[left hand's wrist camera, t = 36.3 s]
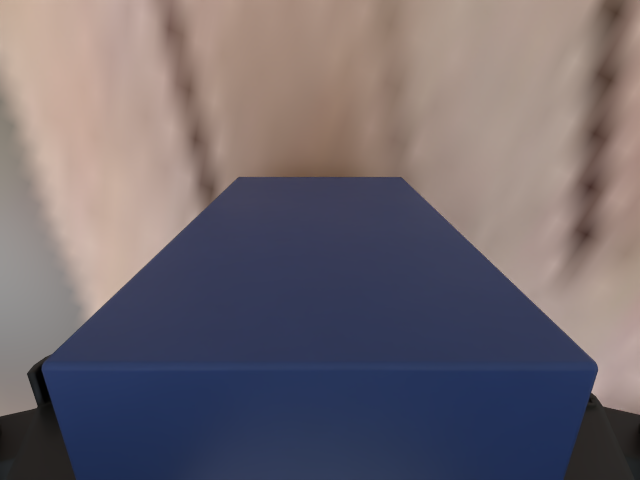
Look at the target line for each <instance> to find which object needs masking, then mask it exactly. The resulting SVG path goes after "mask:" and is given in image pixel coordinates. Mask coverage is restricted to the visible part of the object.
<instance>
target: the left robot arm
mask: <svg viewBox="0 0 640 480" xmlns="http://www.w3.org/2000/svg"><path fill="white" fill-rule="evenodd" d="M51 355H52V354H51ZM51 355H49V356H47V357H45V358H44V359H42V360H41V361H39V362H38V363H36V364H35V365H34V366H33V367H32V368H31V369H30V371H29V372H28V373H27V375H28V378H29V381H30V384H31V387H32V390H33V393H34V396H35V399H36V402H37V405H38V407H37V408H36V409H32V410H28V411H23V412H19V413H14V414H10V415H5V416H1V417H0V480H76V478H75V475H74V471H73V468H72V465H71V462H70V459H69V456H68V452H67V449H66V446H65V443H64V440H63V436H62V433H61V430H60V427H59V424H58V421H57V417H56V414H55V411H54V408H53V405H52V401H51V398H50V395H49V392H48V389H47V386H46V382H45V379H44V376H43V373H42V365H43V363H44V361H46V360H47V359H48V358H49V357H50V356H51ZM564 480H640V415H638V414H633V413H629V412H624V411H620V410H615V409H611V408H607V407H603V406H602V404H601V403H600V402H599V400H598V399H597V398H596V396H594V395H593V394H592V393H591V394H590V397H589V401H588V404H587V407H586V410H585V413H584V416H583V420H582V423H581V426H580V429H579V432H578V435H577V439H576V442H575V445H574V448H573V451H572V454H571V458H570V461H569V464H568V467H567V470H566V473H565V477H564Z"/></svg>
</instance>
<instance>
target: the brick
mask: <svg viewBox="0 0 640 480" xmlns="http://www.w3.org/2000/svg"><path fill="white" fill-rule="evenodd" d="M597 372H598V366H597V364H596V362H595V361H594V360H593V359H592V358H591V357H590V356H589V355H587V354H586V353H585V352H584V351H583V350H582V349H581V348H580V347H579V346H578V345H577V344H576V343H575V342H574V341H573V340H572V339H571V338H570V337H569V336H568V335H566V334H565V333H564V332H563V331H562V330H561V329H560V328H559V327H558V326H557V325H556V324H555V323H554V322H553V321H552V320H551V319H550V318H549V317H548V316H547V315H545V314H544V313H543V312H542V311H541V310H540V309H539V308H538V307H537V306H536V305H535V304H534V303H533V302H532V301H531V300H530V299H529V298H528V297H527V296H526V295H524V294H523V293H522V292H521V291H520V290H519V289H518V288H517V287H516V286H515V285H514V284H513V283H512V282H511V281H510V280H509V279H508V278H507V277H506V276H505V275H503V274H502V273H501V272H500V271H499V270H498V269H497V268H496V267H495V266H494V265H493V264H492V263H491V262H490V261H489V260H488V259H487V258H486V257H485V256H484V255H482V254H481V253H480V252H479V251H478V250H477V249H476V248H475V247H474V246H473V245H472V244H471V243H470V242H469V241H468V240H467V239H466V238H465V237H464V236H463V235H461V234H460V233H459V232H458V231H457V230H456V229H455V228H454V227H453V226H452V225H451V224H450V223H449V222H448V221H447V220H446V219H445V218H444V217H443V216H442V215H440V214H439V213H438V212H437V211H436V210H435V209H434V208H433V207H432V206H431V205H430V204H429V203H428V202H427V201H426V200H425V199H424V198H423V197H422V196H421V195H419V194H418V193H417V192H416V191H415V190H414V189H413V188H412V187H411V186H410V185H409V184H408V183H407V182H406V181H405V180H404V179H403V178H401V177H238V178H237V179H236V180H235V181H234V182H233V183H232V184H231V185H230V186H229V187H228V188H227V189H225V190H224V191H223V192H222V193H221V194H220V195H219V196H218V197H217V198H216V199H215V200H214V201H213V202H212V203H211V204H210V205H209V206H208V207H207V208H206V209H204V210H203V211H202V212H201V213H200V214H199V215H198V216H197V217H196V218H195V219H194V220H193V221H192V222H191V223H190V224H189V225H188V226H187V227H186V228H184V229H183V230H182V231H181V232H180V233H179V234H178V235H177V236H176V237H175V238H174V239H173V240H172V241H171V242H170V243H169V244H168V245H167V246H166V247H164V248H163V249H162V250H161V251H160V252H159V253H158V254H157V255H156V256H155V257H154V258H153V259H152V260H151V261H150V262H149V263H148V264H147V265H146V266H144V267H143V268H142V269H141V270H140V271H139V272H138V273H137V274H136V275H135V276H134V277H133V278H132V279H131V280H130V281H129V282H128V283H127V284H126V285H124V286H123V287H122V288H121V289H120V290H119V291H118V292H117V293H116V294H115V295H114V296H113V297H112V298H111V299H110V300H109V301H108V302H107V303H106V304H104V305H103V306H102V307H101V308H100V309H99V310H98V311H97V312H96V313H95V314H94V315H93V316H92V317H91V318H90V319H89V320H88V321H87V322H86V323H84V324H83V325H82V326H81V327H80V328H79V329H78V330H77V331H76V332H75V333H74V334H73V335H72V336H71V337H70V338H69V339H68V340H67V341H66V342H65V343H63V344H62V345H61V346H60V347H59V348H58V349H57V350H56V351H55V352H54V353H53V354H52V355H51V356H50V357H49V358H48V359H47V360H46V361H44V363H43V365H42V373H43V376H44V379H45V382H46V386H47V389H48V392H49V395H50V398H51V401H52V405H53V408H54V411H55V414H56V417H57V421H58V424H59V427H60V430H61V433H62V436H63V440H64V443H65V446H66V449H67V452H68V456H69V459H70V462H71V465H72V468H73V471H74V475H75V478H76V480H564V477H565V473H566V470H567V467H568V464H569V461H570V458H571V454H572V451H573V448H574V445H575V442H576V439H577V435H578V432H579V429H580V426H581V423H582V420H583V416H584V413H585V410H586V407H587V404H588V401H589V397H590V394H591V391H592V388H593V385H594V382H595V378H596V375H597Z"/></svg>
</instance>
